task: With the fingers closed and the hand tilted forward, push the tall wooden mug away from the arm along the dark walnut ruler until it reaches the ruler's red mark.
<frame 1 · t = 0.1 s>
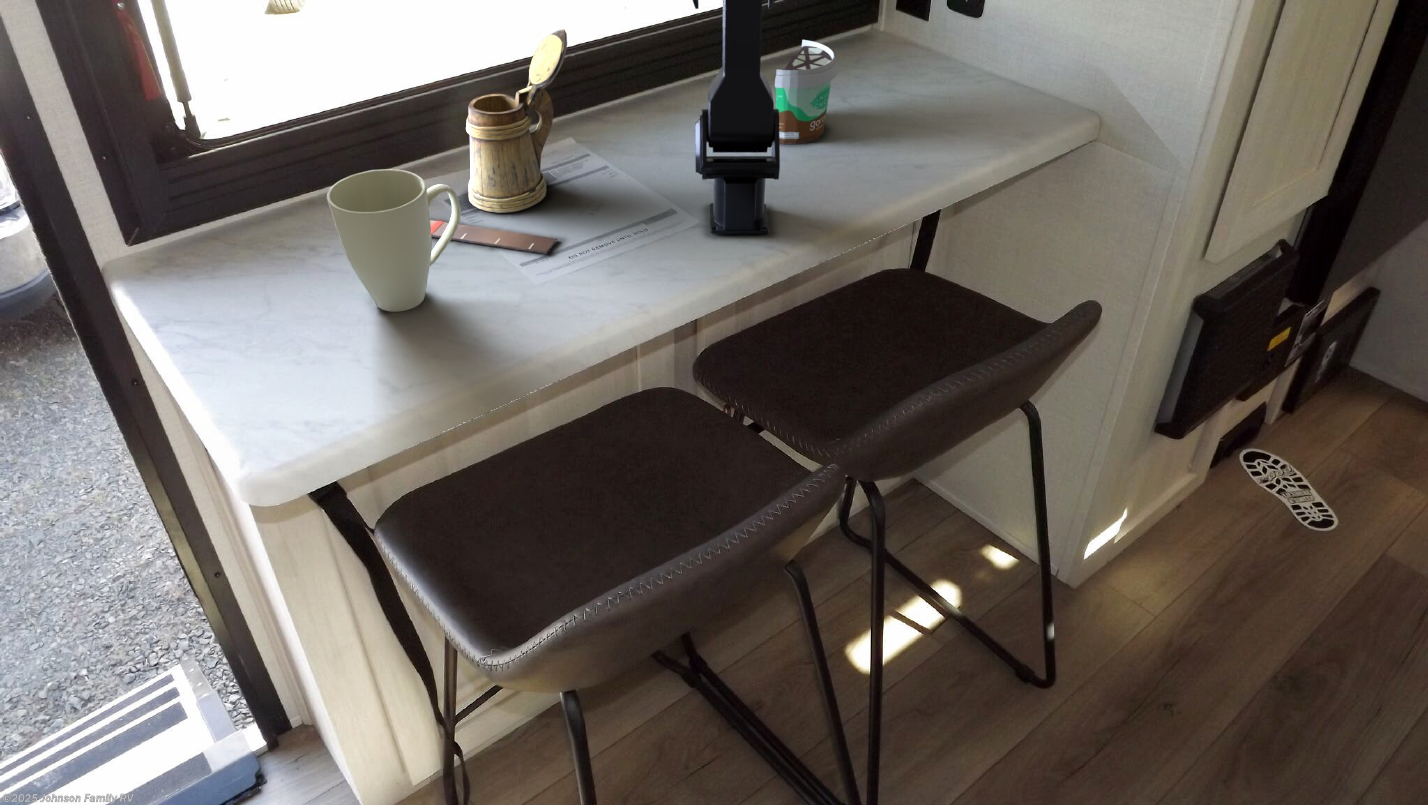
hand: (733, 7, 130), 15 cm above the worktop, tool pointing down, fingers open, 9 cm apart
food container: (808, 133, 136), on the worktop
ruler: (467, 235, 114), on the worktop
mug: (408, 295, 105), on the worktop
wooden mug: (526, 192, 122), on the worktop
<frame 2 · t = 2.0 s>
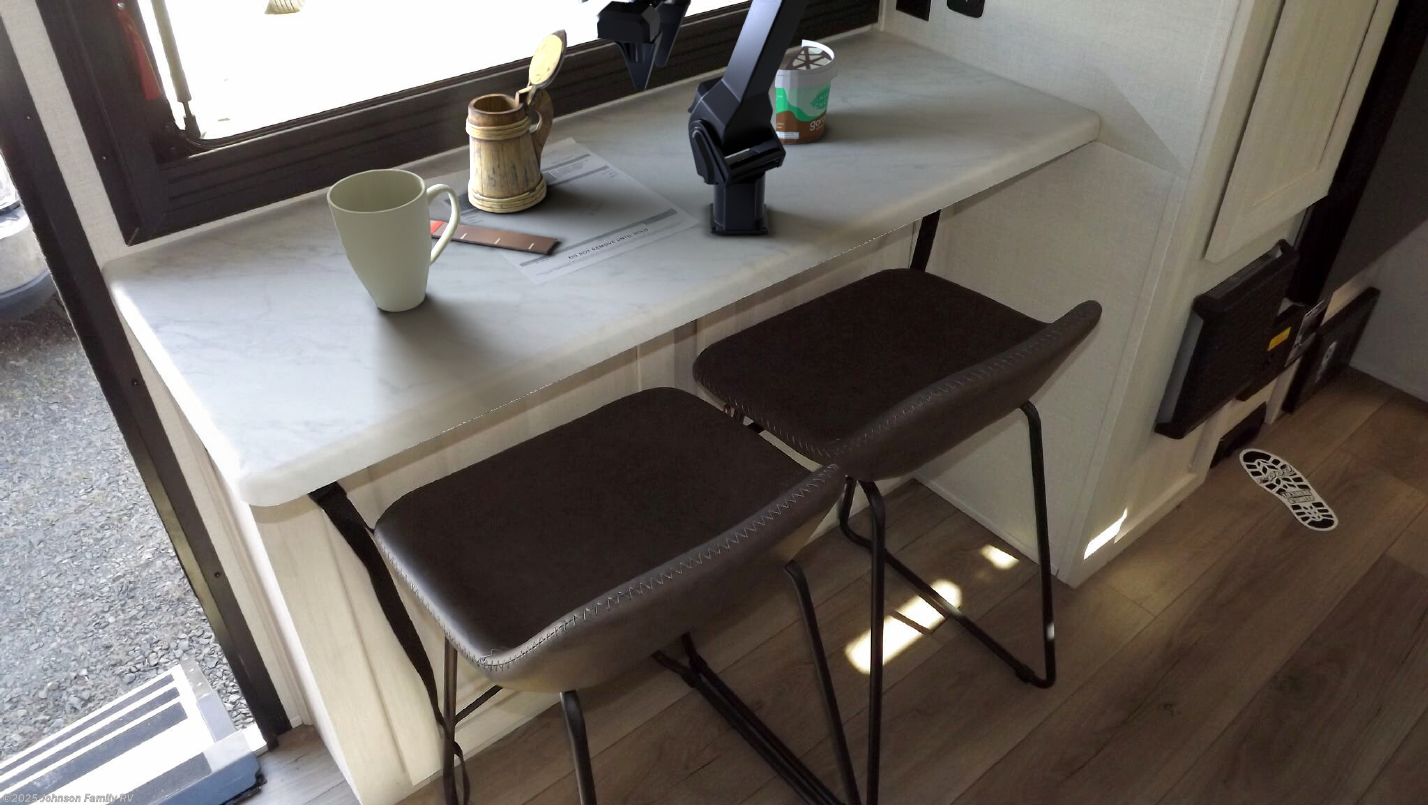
hand: (650, 77, 119), 12 cm above the worktop, tool pointing down, fingers open, 7 cm apart
nothing on the worktop moved.
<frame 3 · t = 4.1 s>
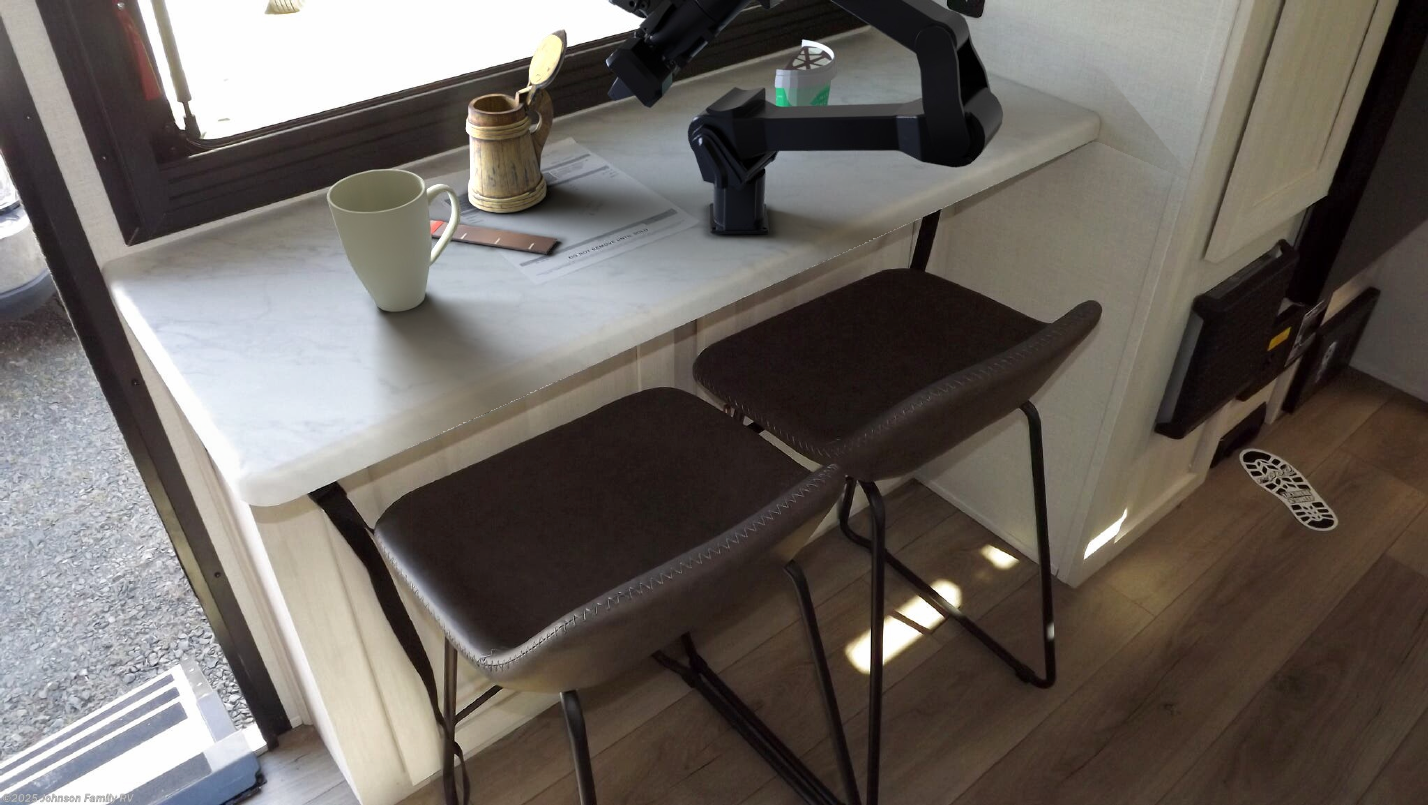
hand: (611, 96, 112), 13 cm above the worktop, tool tilted 45°, fingers closed
nothing on the worktop moved.
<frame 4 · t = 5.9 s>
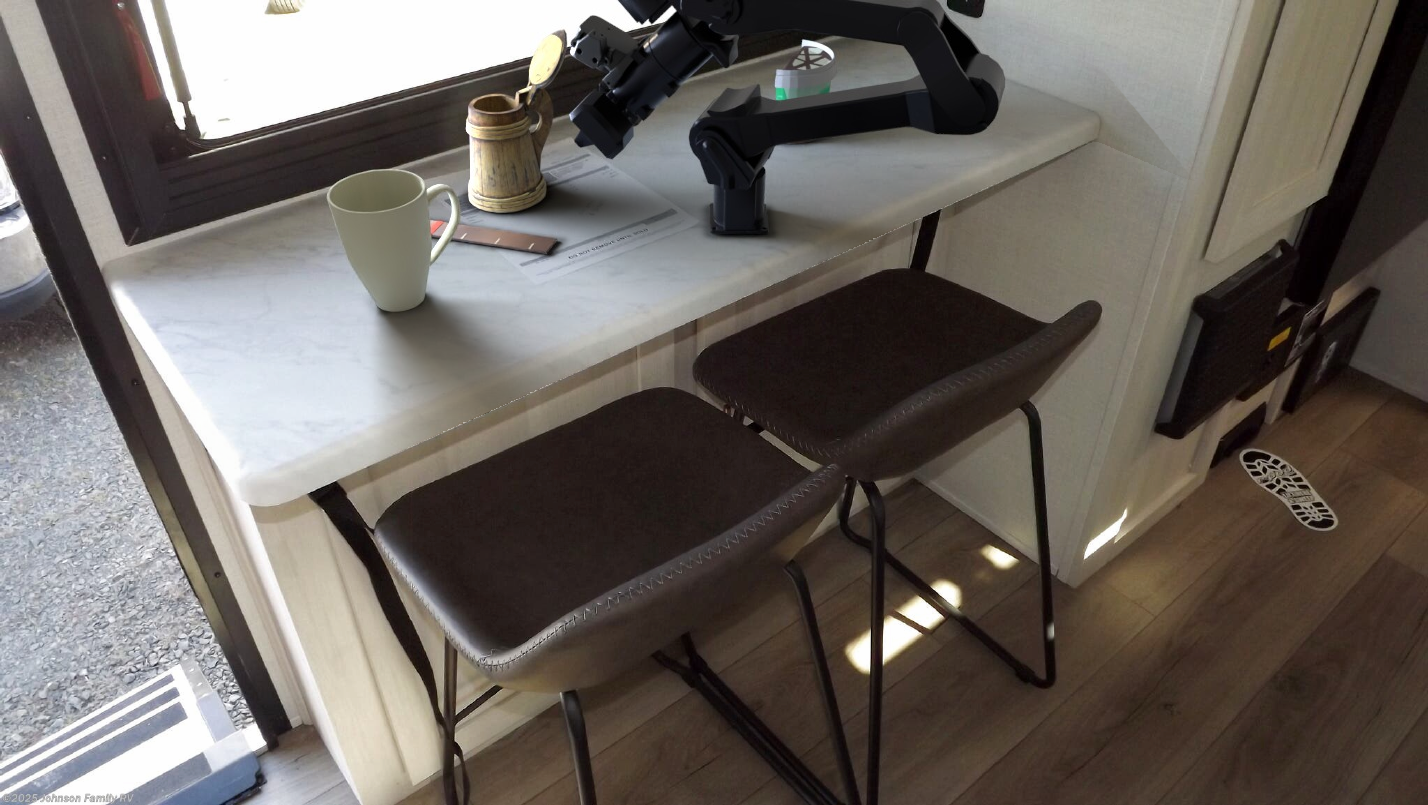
hand: (578, 143, 117), 7 cm above the worktop, tool tilted 45°, fingers closed
nothing on the worktop moved.
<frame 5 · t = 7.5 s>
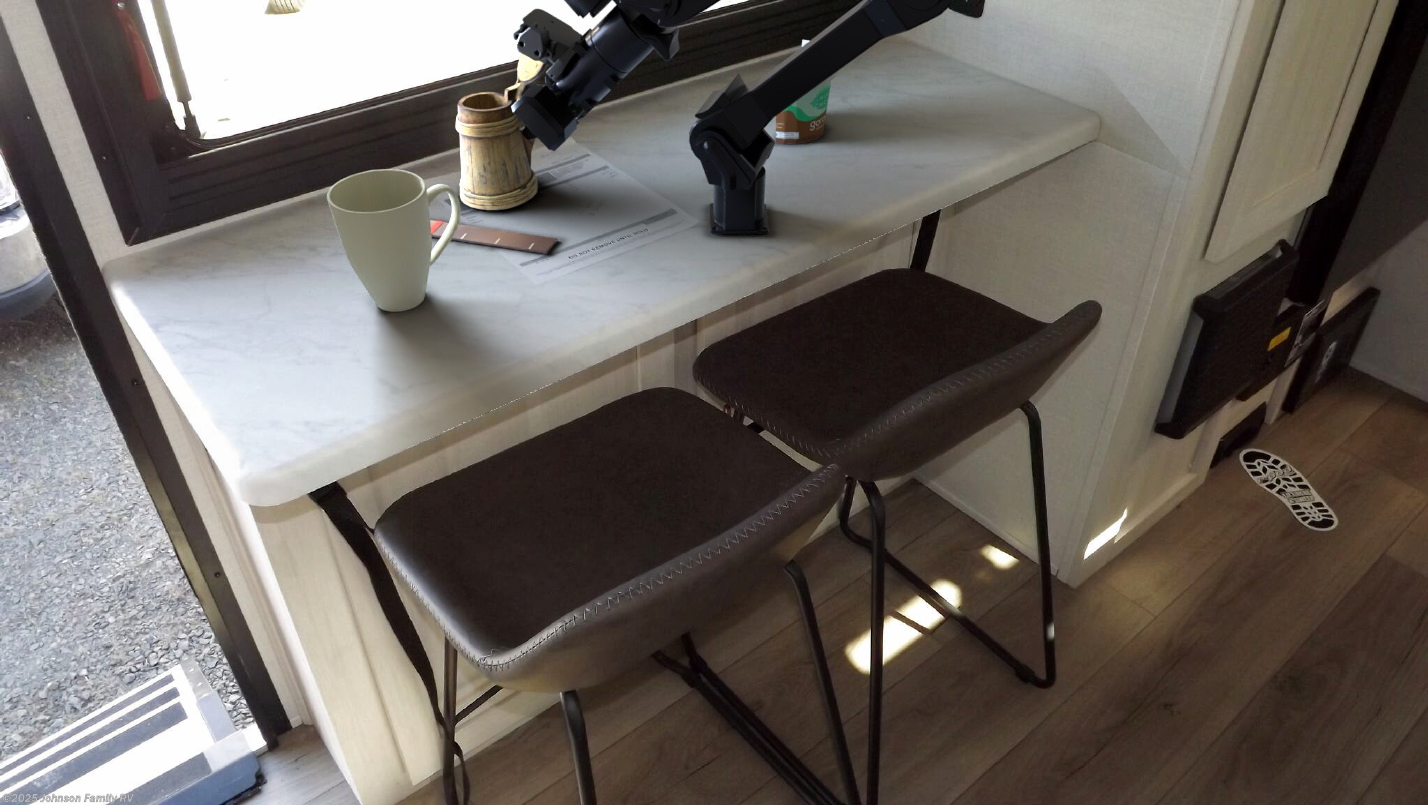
hand: (525, 135, 118), 7 cm above the worktop, tool tilted 45°, fingers closed, pressing on wooden mug
wooden mug: (517, 190, 123), on the worktop, touching gripper
everything else where it was.
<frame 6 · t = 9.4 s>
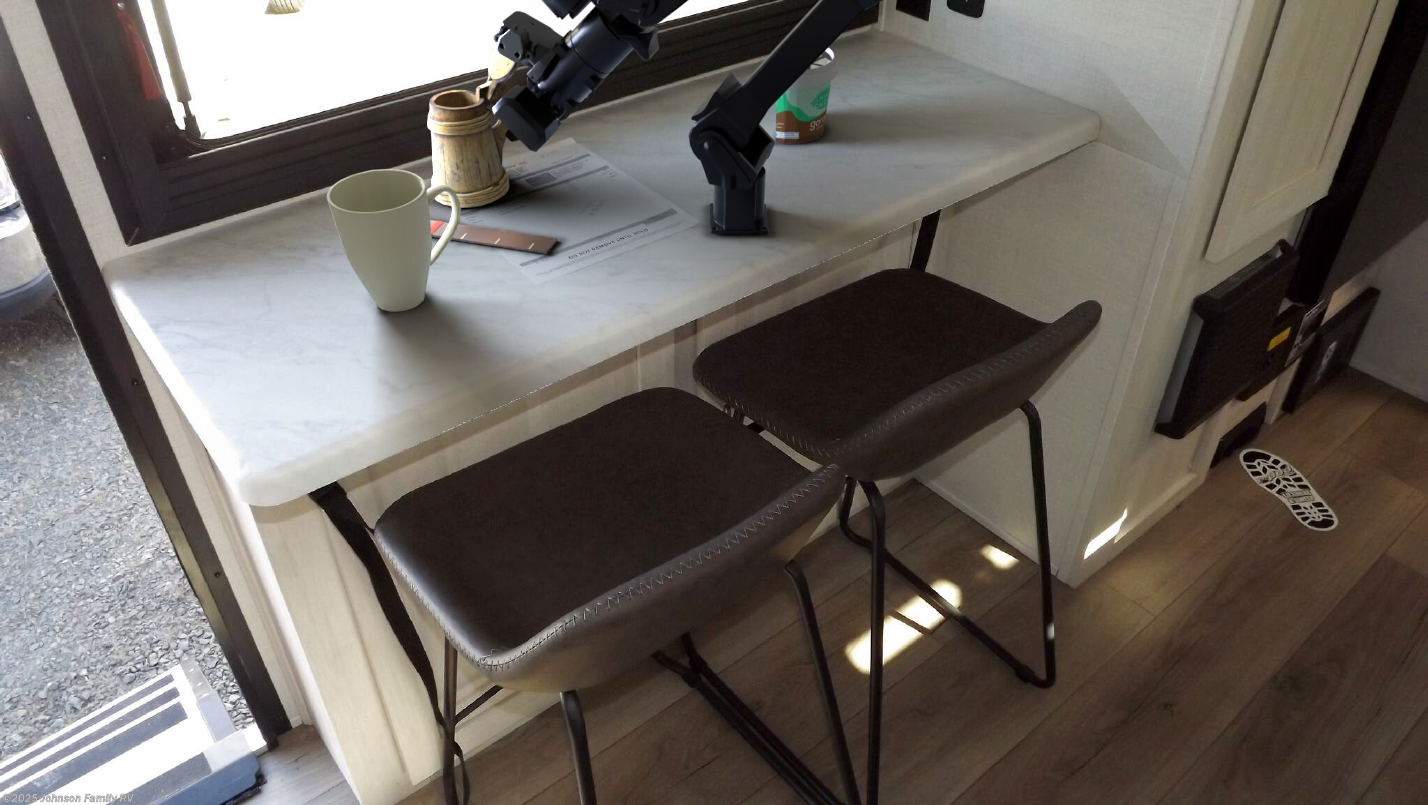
hand: (509, 137, 119), 7 cm above the worktop, tool tilted 45°, fingers closed
wooden mug: (488, 187, 123), on the worktop
everything else where it was.
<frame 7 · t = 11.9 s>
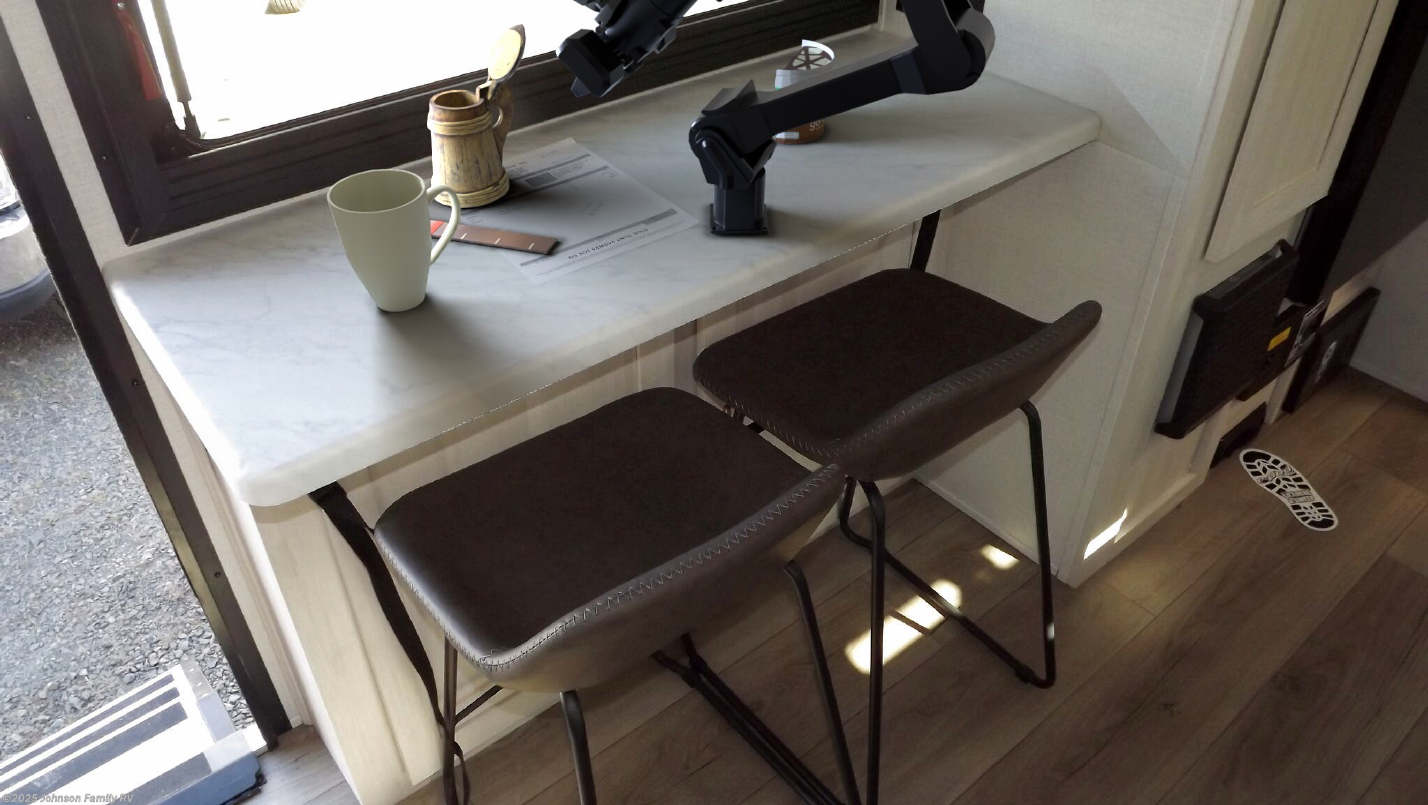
hand: (575, 92, 114), 13 cm above the worktop, tool tilted 40°, fingers closed
nothing on the worktop moved.
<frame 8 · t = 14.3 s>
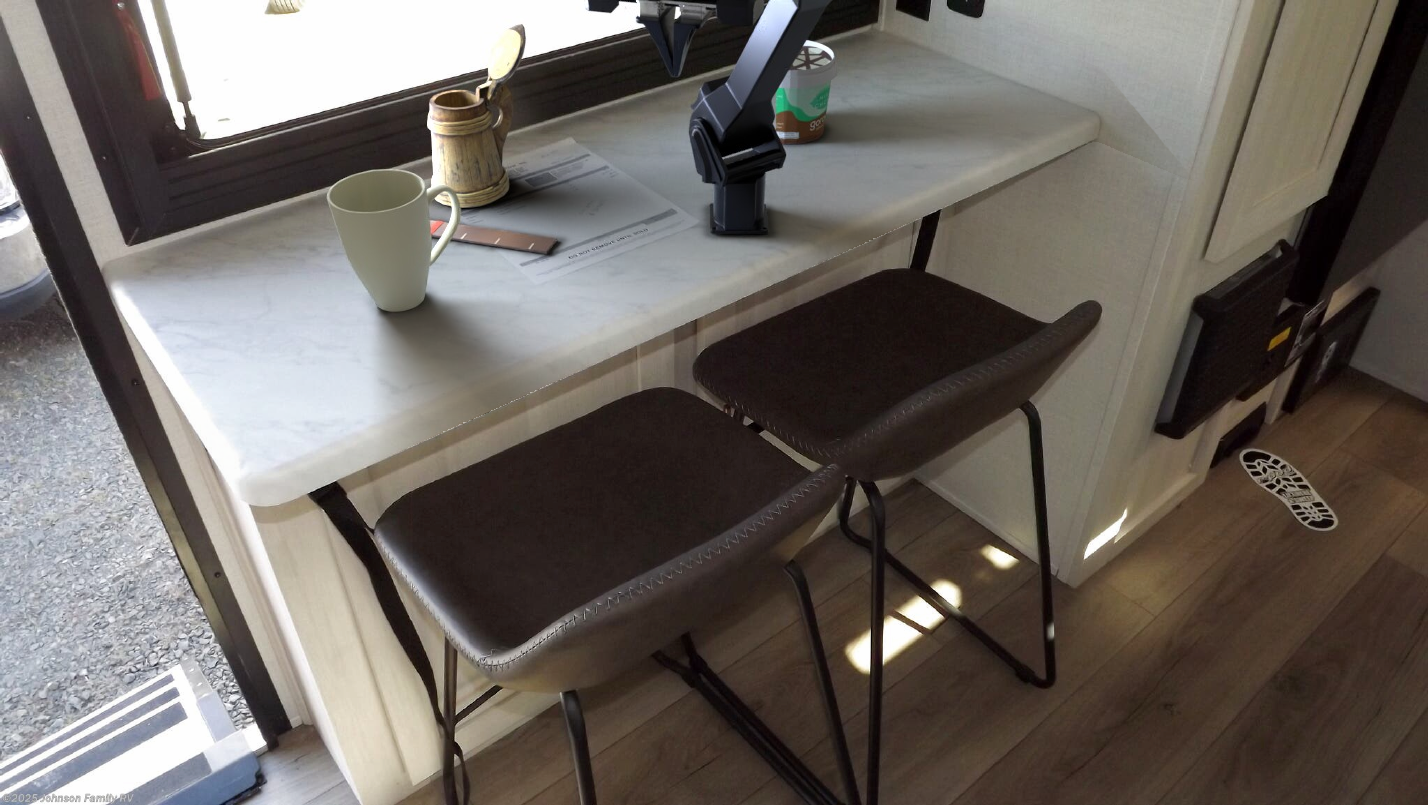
hand: (675, 75, 116), 13 cm above the worktop, tool pointing down, fingers closed
nothing on the worktop moved.
at the end: wooden mug inside the target area (1.6 cm from its centre), on the worktop; wooden mug tilted 0°; wooden mug moved 4.8 cm from its start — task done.
